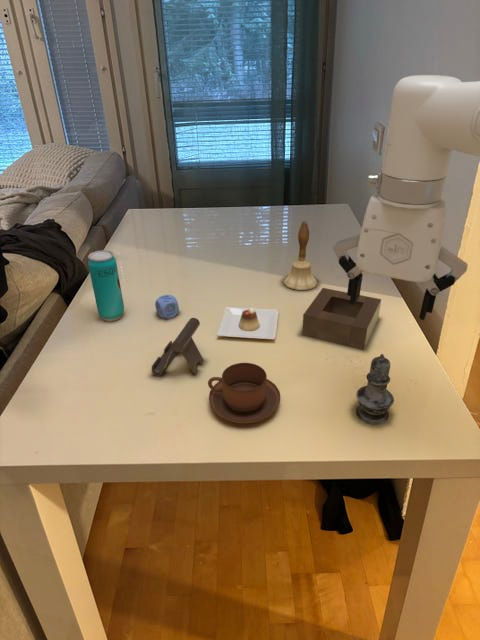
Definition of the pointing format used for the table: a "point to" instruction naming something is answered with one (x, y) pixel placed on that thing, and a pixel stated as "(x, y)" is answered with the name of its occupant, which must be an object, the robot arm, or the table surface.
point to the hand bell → (301, 265)
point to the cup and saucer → (243, 394)
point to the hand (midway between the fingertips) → (387, 307)
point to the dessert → (249, 323)
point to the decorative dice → (167, 306)
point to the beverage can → (106, 285)
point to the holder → (341, 318)
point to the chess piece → (375, 393)
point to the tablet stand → (181, 349)
